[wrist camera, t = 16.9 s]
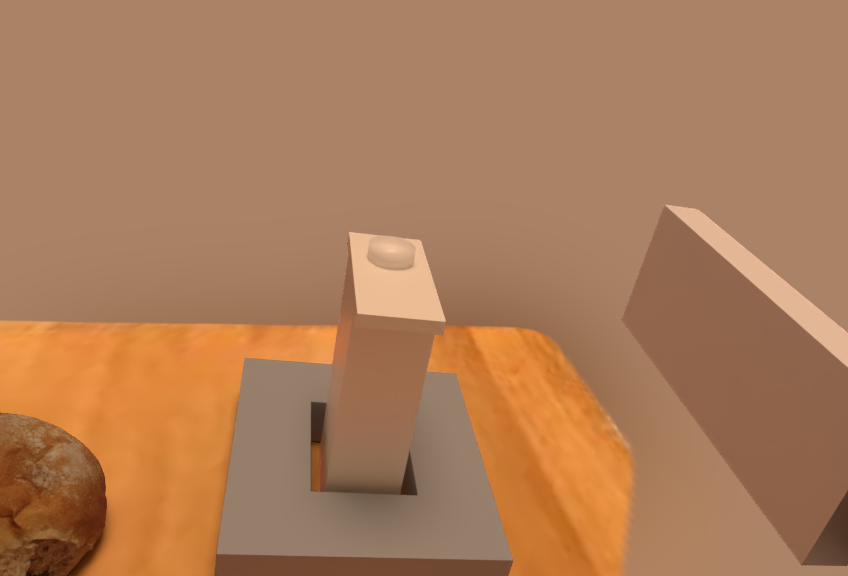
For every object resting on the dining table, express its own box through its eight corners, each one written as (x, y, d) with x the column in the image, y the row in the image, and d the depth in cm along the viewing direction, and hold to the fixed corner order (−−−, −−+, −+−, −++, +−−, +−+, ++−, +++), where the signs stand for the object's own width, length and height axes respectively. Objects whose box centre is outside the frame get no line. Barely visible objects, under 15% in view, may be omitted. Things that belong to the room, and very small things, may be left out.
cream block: (320, 545, 38) (359, 297, 31) (319, 434, 46) (351, 218, 39) (395, 547, 39) (449, 306, 32) (382, 438, 47) (423, 227, 40)
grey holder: (212, 600, 34) (216, 554, 33) (241, 396, 48) (244, 357, 47) (499, 602, 37) (513, 560, 35) (447, 409, 51) (455, 373, 49)
